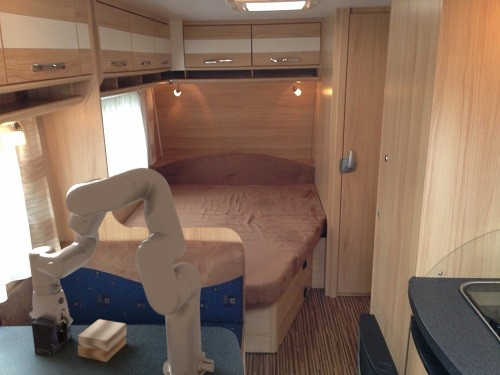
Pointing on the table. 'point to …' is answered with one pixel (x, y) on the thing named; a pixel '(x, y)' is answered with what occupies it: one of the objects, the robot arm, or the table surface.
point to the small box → (47, 336)
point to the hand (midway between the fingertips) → (53, 338)
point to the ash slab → (102, 335)
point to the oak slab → (99, 353)
